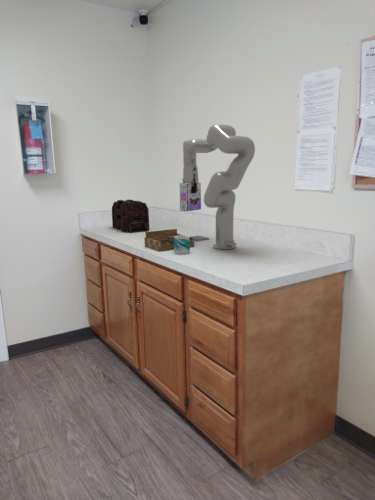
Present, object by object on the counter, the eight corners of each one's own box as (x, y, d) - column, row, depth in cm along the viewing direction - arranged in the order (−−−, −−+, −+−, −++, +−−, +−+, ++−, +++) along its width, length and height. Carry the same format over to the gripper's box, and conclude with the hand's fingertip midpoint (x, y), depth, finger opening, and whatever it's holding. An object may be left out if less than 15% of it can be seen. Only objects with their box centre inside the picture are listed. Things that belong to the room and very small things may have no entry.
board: (209, 239, 242) (209, 237, 242) (182, 242, 233) (182, 241, 232) (199, 237, 252) (199, 235, 251) (173, 240, 242) (173, 238, 242)
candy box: (187, 211, 231) (187, 182, 228) (179, 211, 235) (179, 182, 232) (201, 209, 242) (201, 182, 239) (193, 209, 246) (193, 181, 242)
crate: (111, 227, 302) (109, 199, 297) (134, 225, 310) (133, 198, 306) (126, 233, 271) (124, 203, 267) (151, 231, 280) (150, 201, 276)
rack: (194, 246, 221) (194, 232, 219) (159, 251, 210) (159, 236, 208) (177, 242, 236) (177, 228, 234) (144, 246, 225) (144, 232, 223)
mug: (177, 254, 201) (177, 238, 199) (169, 250, 212) (168, 235, 210) (192, 253, 204) (192, 237, 202) (183, 249, 215) (182, 233, 213)
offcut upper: (183, 241, 218) (182, 235, 217) (170, 243, 213) (170, 237, 213) (180, 241, 220) (179, 234, 219) (167, 242, 216) (167, 236, 215)
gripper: (203, 162, 228) (203, 193, 231) (187, 162, 242) (188, 192, 246) (192, 162, 224) (192, 193, 227) (176, 162, 238) (177, 192, 242)
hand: (190, 192), depth 236 cm, fingers closed on candy box, 7 cm apart
